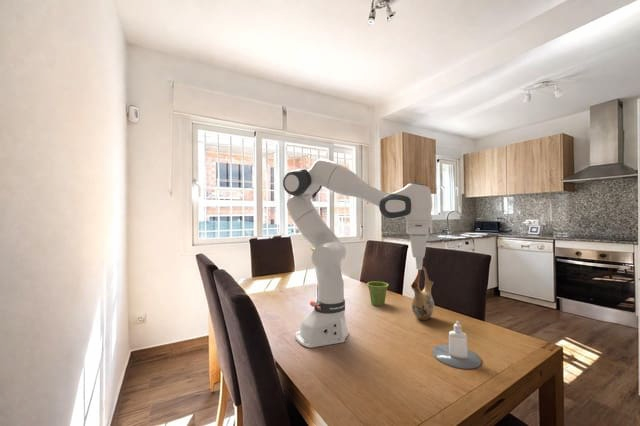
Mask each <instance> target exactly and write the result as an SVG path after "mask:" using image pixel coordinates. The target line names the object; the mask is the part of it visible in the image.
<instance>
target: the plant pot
mask: <svg viewBox="0 0 640 426" xmlns="http://www.w3.org/2000/svg"><path fill="white" fill-rule="evenodd" d="M366 284H367V287H368V291H369V297H370V303H371V305H373V306H378V307H381V306H385V302H386V295H387V291H388V287H389V283H387V282H384V281H369V282H367V283H366Z"/></svg>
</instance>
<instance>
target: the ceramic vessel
mask: <svg viewBox="0 0 640 426" xmlns="http://www.w3.org/2000/svg"><path fill="white" fill-rule="evenodd" d="M422 270H423V271H424V273H423V274H424V287H423V289H422V290H421V289H420V278H421V277H420V276H421V272H422ZM422 270H418V269H417V274H416V276H415V278H414V281H413V282H412V283H411V285H410V288H411V290H412V291H413V292H414V295H413V297H412V301H411V309H412V313H413V314H414V316H415V317H416V318H417V319H418V320H420V321H427V320H429V319H430V318H431V317H432V316H433V313H434V310H435V301H434V299H433V296H432V287H433V284H434V281H432V280H430V279H429V275H428V272H427V269H426V267H425V266H423V265H422Z"/></svg>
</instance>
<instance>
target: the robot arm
mask: <svg viewBox="0 0 640 426" xmlns="http://www.w3.org/2000/svg"><path fill="white" fill-rule="evenodd" d="M282 186H283V188H284V191H285V192H286V193H287V194H288V195H290V197H289V198H288V199H287V202H286V207H287V210H288V212H289V214H290V216H291V218H292V221H293V222H294V224H295V225H296V227H297V228H298V231H299V232H300V233H301V235H302V237H303V238H304V239H305V240H306V241H308V243H310V244H311V245H312V247H314V249H313V252H312V253H311V254H312V255H311V261H312V264H313V266H314V269H315V275H316V280H317V300H316V301H314V300H311V301H310V302H309V305H310V306H311V307H314V309H312V310H311V312H309V314H308V315H307V316H305V318H303V319H302V321H301V323H300V330H297V331H296V332H295V335H294V338H295V339H296V341H297V342H298V343H299V344H300V345H301V346H304V347H306V348H316V347H322V346H323V347H324V346H330V345H335V344H336V345H337V344H342V343H345V342H346V338H347V337H348V335H349V330H348V326H347V322H346V315H345V312H346V299H345V296H344V295H345V293H344V292H345V290H344V288H345V287H344V283H345V281H344V279H343V275H342V269H341V268H342V267H341V265H342V262H343V261H344V260H345V258H346V254H347V249H346V246H345V245H344V244H343V243H342V241H340V239H339V237H337V236H336V234H335V233H334V232H333V231H332V230H331V229H330V227H329V226H328V224H326V222H325V220H324V219H323V218H322V216H321V215H320V213H319V212H318V210H317V208H316V207H315V206H314V204H313V203H312V199H315V197H316V196H317V194H318V193H319V192H320V191H321V190H322V187H324V188H325V189H327V190H329V191H331V192H333V193H336V194H338V195H342V196H347V197H354V198H359V199H362V200H364V201H366V202H368V203H370V204H373V205H374V206H376V207H378V209H379V212H380V214H381V215H382V216H384V217H385V218H386V219H390V220H397V221H399V220H404V219H405V224H406V225H405V227H406V229H405V230H406V231H405V232H406V233H407V234H408V236H409V239H410V247H411V255H412V257H413V258H414V259H415V264H416V265H415V266H416V270H417V271H418V270H421V271H422V270H423V269H422V266H423V264H424V258H425V255H426V249H427V239H429V237H430V236H429V235H430V234H433V216H432V209H433V200H432V199H433V198H432V197H433V196H432V192H431V189H430V187H429V186H427V185H426V184H423V183H416V182H414V183H413V182H412V183H407V185H405V186H404V187H402V188H401V189H399V190H397V191H393V192H390V193H386V192H384V191H382V190H380V189H378V188H376V187H373V186H372V185H370V184H369V183H367V182H366V181H365V180H364V179H362V178H361V177H360V176H359V175H358V174H356V173H355V172H354V171H352V170H351V169H349V168H348V167H346V166H344V165H342V164H339V163H338V162H334V161H331V160H329V159H325V158H319V159H317V160H315V161H314V162H313V164H312V166H311V167H310V168H309V169H306V168H302V169H301V168H300V169H294V170H291V171H289V172H287V173H285V175H284V177H283V180H282Z"/></svg>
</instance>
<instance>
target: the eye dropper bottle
mask: <svg viewBox="0 0 640 426" xmlns="http://www.w3.org/2000/svg"><path fill="white" fill-rule="evenodd" d="M448 345H449V354H450V355H451V356H453V357H456V358H462V359H466V358H467V357H468V352H467V349H468V337H467V334H466V333H465V332H463V330H462V325H461V324H460V321H459V320H456V321H455V323H454V324H453V330H450V331H449V332H448Z"/></svg>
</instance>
